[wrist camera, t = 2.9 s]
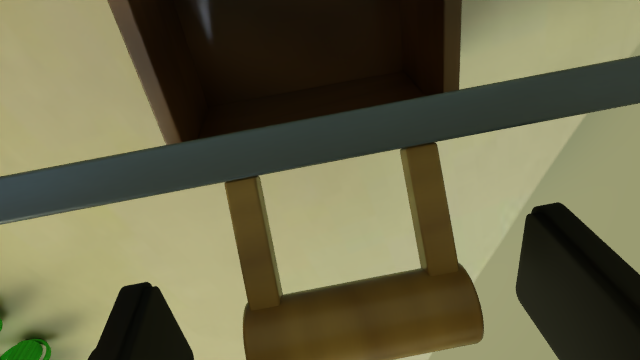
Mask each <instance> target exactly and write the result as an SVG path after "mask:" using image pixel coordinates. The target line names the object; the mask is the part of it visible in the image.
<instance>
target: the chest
mask: <svg viewBox="0 0 640 360" xmlns="http://www.w3.org/2000/svg"><path fill="white" fill-rule="evenodd" d="M108 3H109V5H110V8H111V10H112V13H113V15H114V18H115V20H116V23H117V25H118V27H119V30H120V32H121V35H122V37H123V40H124V42H125V45H126V47H127V50H128V52H129V54H130V57H131V59H132V62H133V64H134V67H135V69H136V72H137V74H138V77H139V79H140V81H141V84H142V86H143V89H144V91H145V94H146V96H147V99H148V101H149V104H150V106H151V108H152V111H153V113H154V116H155V118H156V121H157V123H158V126H159V128H160V131H161V133H162V135H163V138H164V140H165V143H166V145H170V144H175V143H181V142H186V141H191V140H196V139H202V138H207V137H212V136H218V135H223V134H228V133H233V132H239V131H244V130H249V129H255V128H260V127H265V126H270V125H276V124H281V123H286V122H292V121H297V120H302V119H307V118H313V117H318V116H323V115H329V114H334V113H339V112H344V111H350V110H355V109H360V108H366V107H371V106H376V105H381V104H387V103H392V102H397V101H403V100H408V99H413V98H418V97H424V96H429V95H434V94H440V93H445V92H450V91H455V90H459V72H460V40H461V7H462V0H108Z"/></svg>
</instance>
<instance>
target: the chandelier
mask: <svg viewBox="0 0 640 360" xmlns="http://www.w3.org/2000/svg"><path fill="white" fill-rule="evenodd" d="M2 325H3V323H2V320H1V319H0V331H1V329H2ZM40 344H42V345H45V346H46V354H45V357H44V358H43V360H49V359H50V356H51V348H50V346H49V345H48V343H47V342H46V341H44V340H42V339H31V340H25V341H21V342H20V343H18V344H17V345H15V346H14V347H12V348H11V349H9V350H8V351H6V352H5V353H4V354H3V355H2V356H1V357H0V360H6V359H7V358H8V359H7V360H39V359H40V357H41V355H42V352H43V348H42V346H41V345H40ZM28 349H29V350H28Z"/></svg>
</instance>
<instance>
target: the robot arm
mask: <svg viewBox="0 0 640 360" xmlns="http://www.w3.org/2000/svg"><path fill="white" fill-rule="evenodd" d="M516 294H517V297H518V299H519V301H520V303H521V304H522V306H523V307H524V309H525V310H526V312H527V313H528V315H529V316H530V318H531V319H532V320H533V322H534V323H535V325H536V326H537V328H538V329H539V331H540V332H541V334H542V335H543V337H544V338H545V340H546V341H547V343H548V344H549V345H550V347H551V348H552V350H553V351H554V353H555V354H556V356H557V357H558V359H559V360H640V275H639V274H638V273H637V272H636V271H635V270H634V269H633V268H632V267H631V266H630V265H628V264H627V263H626V262H625V261H624V260H623V259H622V258H621V257H620V256H619V255H618V254H616V253H615V252H614V251H613V250H612V249H611V248H610V247H609V246H608V245H607V244H606V243H605V242H603V241H602V240H601V239H600V238H599V237H598V236H597V235H595V233H594V232H593V231H592V230H590V229H589V228H588V227H587V226H586V225H585V224H584V223H583V222H582V221H581V220H580V219H579V218H577V217H576V216H575V215H574V214H573V213H572V212H571V211H570V210H569V209H567V208H566V207H565V206H564V205H563V204H561V203H553V204H547V205H542V206H537V207H534V208H533V210H532V212H531V214H528V215H527V216H526V221H525V228H524V234H523V241H522V248H521V255H520V262H519V269H518V276H517V282H516ZM88 360H194V356H193V352H192V350H191V348H190V346H189V344H188V342H187V340H186V338H185V337H184V335H183V333H182V331H181V329H180V327H179V325H178V323H177V321H176V320H175V318H174V316H173V314H172V312H171V310H170V308H169V306H168V304H167V302H166V301H165V299H164V297H163V295H162V293H161V291H160V289H159V288H158V287H157V286H154V287H152V285H151V284H150V283H148V282H144V283H139V284H134V285H128V286H124V287H123V288H121V290H120V292H119V294H118V297H117V299H116V301H115V304H114V306H113V309H112V311H111V313H110V316H109V318H108V321H107V323H106V325H105V328H104V330H103V333H102V335H101V337H100V340H99V342H98V345H97V347H96V349H95V350H93V351H92V353H91V355H90V356H89V358H88Z"/></svg>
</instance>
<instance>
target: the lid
mask: <svg viewBox="0 0 640 360" xmlns="http://www.w3.org/2000/svg"><path fill="white" fill-rule="evenodd" d="M638 103H640V56H635V57H630V58H625V59H619V60H614V61H609V62H603V63H598V64H593V65H588V66H582V67H577V68H572V69H566V70H561V71H556V72H551V73H545V74H540V75H535V76H529V77H524V78H519V79H514V80H508V81H503V82H498V83H492V84H487V85H482V86H477V87H471V88H466V89H461V90H455V91H450V92H445V93H440V94H434V95H429V96H424V97H418V98H413V99H408V100H403V101H397V102H392V103H387V104H381V105H376V106H371V107H366V108H360V109H355V110H350V111H344V112H339V113H334V114H329V115H323V116H318V117H313V118H307V119H302V120H297V121H292V122H286V123H281V124H276V125H270V126H265V127H260V128H255V129H249V130H244V131H239V132H233V133H228V134H223V135H218V136H212V137H207V138H202V139H196V140H191V141H186V142H181V143H175V144H170V145H165V146H159V147H154V148H149V149H144V150H138V151H133V152H128V153H122V154H117V155H112V156H107V157H101V158H96V159H91V160H85V161H80V162H75V163H69V164H64V165H59V166H54V167H48V168H43V169H38V170H32V171H27V172H22V173H17V174H11V175H6V176H1V177H0V225H1V224H6V223H11V222H16V221H22V220H27V219H32V218H37V217H43V216H48V215H53V214H58V213H64V212H69V211H74V210H80V209H85V208H90V207H95V206H101V205H106V204H111V203H116V202H122V201H127V200H132V199H137V198H143V197H148V196H153V195H159V194H164V193H169V192H174V191H180V190H185V189H190V188H195V187H201V186H206V185H211V184H216V183H222V182H225V189H226V194H227V199H228V204H229V209H230V214H231V219H232V224H233V229H234V234H235V239H236V244H237V249H238V254H239V259H240V264H241V269H242V274H243V279H244V284H245V289H246V294H247V299H248V303H247V304H246V306H245V310H244V316H243V339H244V349H245V355H246V360H393V359H398V358H404V357H409V356H414V355H419V354H424V353H429V352H435V351H440V350H445V349H450V348H455V347H460V346H465V345H471V344H476V343H478V342H480V341H481V340H482V338H483V333H484V324H483V315H482V310H481V305H480V302H479V298H478V295H477V292H476V290H475V287H474V285H473V282H472V280H471V278H470V277H469V275H468V273H467V271H466V270H465V269H464V267H463V266H462V265H461V264H459V263H458V260H457V254H456V249H455V243H454V237H453V232H452V226H451V220H450V215H449V209H448V204H447V198H446V192H445V187H444V181H443V175H442V170H441V164H440V159H439V153H438V147H437V144H436V143H434V142H437V141H443V140H448V139H453V138H459V137H464V136H469V135H474V134H480V133H485V132H490V131H495V130H501V129H506V128H511V127H516V126H522V125H527V124H532V123H538V122H543V121H548V120H553V119H559V118H564V117H569V116H574V115H580V114H585V113H590V112H595V111H600V110H606V109H611V108H616V107H621V106H627V105H632V104H638ZM401 148H402V149H401ZM395 149H401V150H400V154H401V159H402V165H403V170H404V176H405V181H406V187H407V192H408V198H409V203H410V209H411V214H412V220H413V225H414V231H415V237H416V242H417V248H418V253H419V259H420V264H421V268H420V269H415V270H409V271H404V272H399V273H394V274H389V275H383V276H378V277H373V278H368V279H363V280H357V281H352V282H347V283H342V284H337V285H331V286H326V287H321V288H316V289H311V290H305V291H300V292H295V293H290V294H285V295H283V293H282V288H281V283H280V278H279V273H278V268H277V262H276V257H275V252H274V247H273V242H272V237H271V232H270V227H269V222H268V216H267V211H266V206H265V201H264V196H263V191H262V186H261V181H260V177H259V175H264V174H269V173H274V172H280V171H285V170H290V169H295V168H301V167H306V166H311V165H316V164H322V163H327V162H332V161H337V160H343V159H348V158H353V157H359V156H364V155H369V154H374V153H380V152H385V151H390V150H395Z"/></svg>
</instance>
